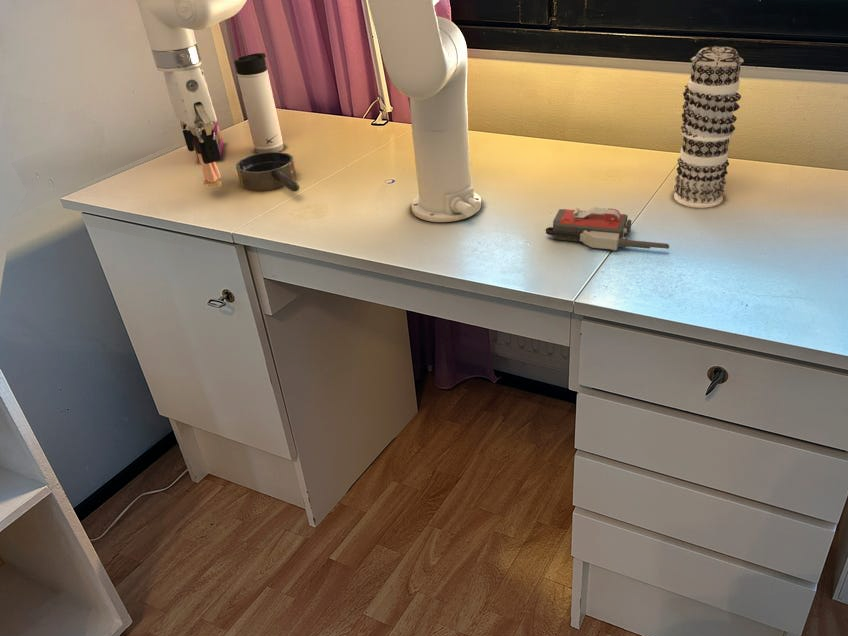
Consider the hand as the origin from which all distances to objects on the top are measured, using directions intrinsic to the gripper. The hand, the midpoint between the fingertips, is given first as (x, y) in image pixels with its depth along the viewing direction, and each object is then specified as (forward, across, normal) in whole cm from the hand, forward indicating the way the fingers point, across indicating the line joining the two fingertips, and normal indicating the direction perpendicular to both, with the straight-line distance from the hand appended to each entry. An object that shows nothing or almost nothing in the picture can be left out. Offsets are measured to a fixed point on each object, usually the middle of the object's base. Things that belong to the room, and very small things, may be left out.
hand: (204, 155), depth 137 cm
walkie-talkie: (+8, -63, -44) cm, 77 cm away
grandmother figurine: (+6, 0, 0) cm, 6 cm away
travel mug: (+8, +17, -18) cm, 27 cm away
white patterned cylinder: (+8, -62, -66) cm, 91 cm away
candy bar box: (+8, +24, -8) cm, 27 cm away
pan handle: (+6, -9, -11) cm, 16 cm away
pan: (+8, 0, -11) cm, 14 cm away
